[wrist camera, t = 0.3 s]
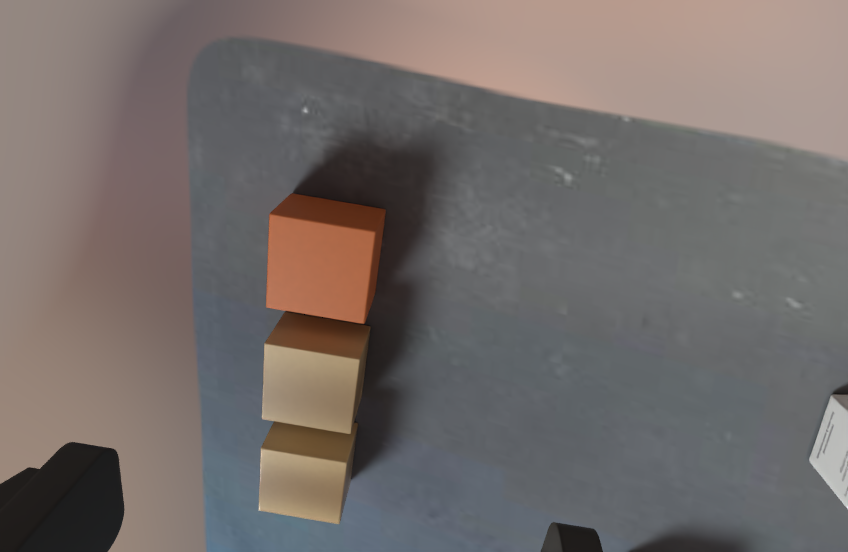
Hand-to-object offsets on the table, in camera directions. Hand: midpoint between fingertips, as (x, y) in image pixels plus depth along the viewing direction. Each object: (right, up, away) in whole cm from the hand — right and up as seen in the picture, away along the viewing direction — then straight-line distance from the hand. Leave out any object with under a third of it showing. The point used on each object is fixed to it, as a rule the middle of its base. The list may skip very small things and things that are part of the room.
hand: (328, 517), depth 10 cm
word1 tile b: (-4, 0, +19) cm, 20 cm away
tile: (-5, -6, +22) cm, 23 cm away
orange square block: (-3, +6, +17) cm, 18 cm away
